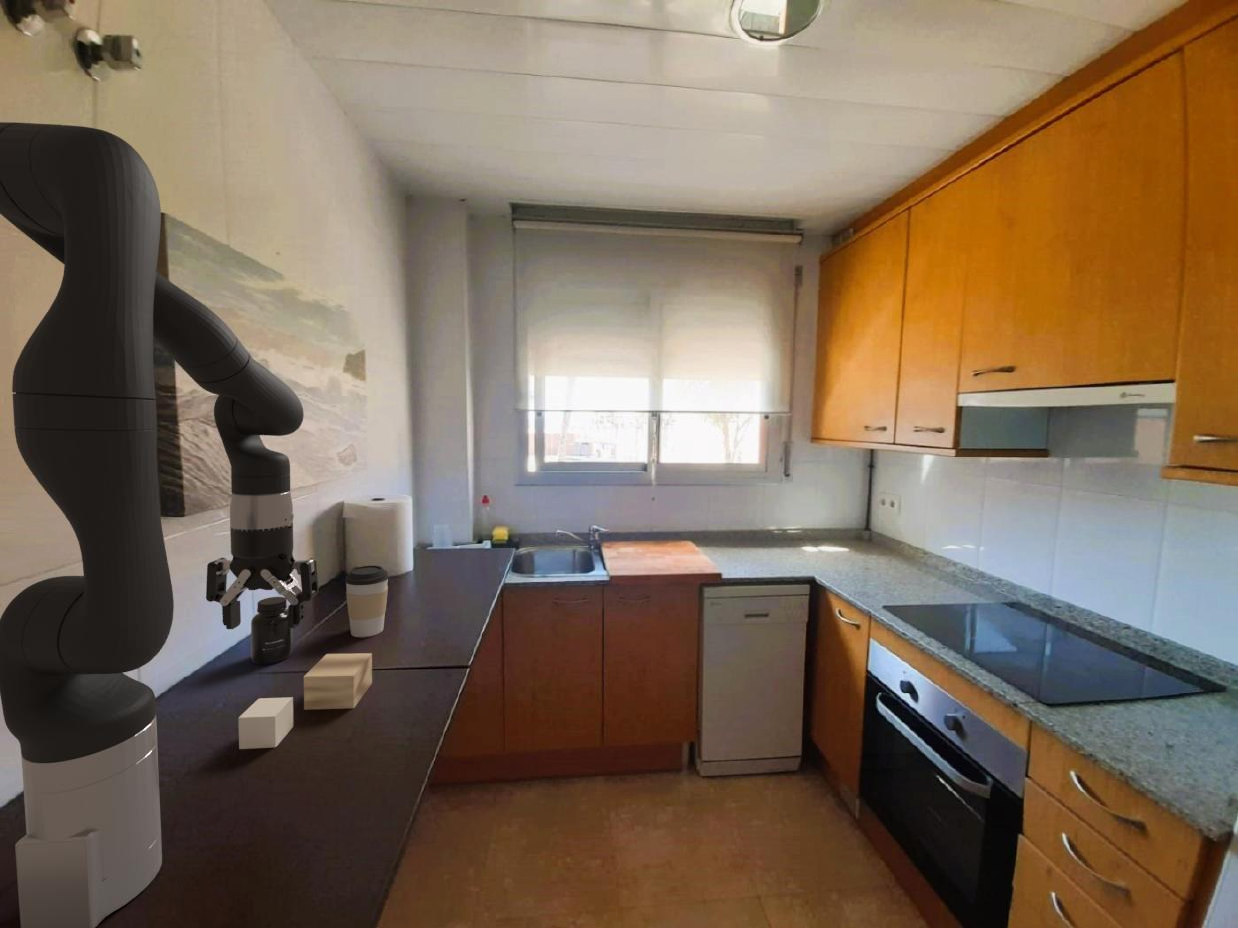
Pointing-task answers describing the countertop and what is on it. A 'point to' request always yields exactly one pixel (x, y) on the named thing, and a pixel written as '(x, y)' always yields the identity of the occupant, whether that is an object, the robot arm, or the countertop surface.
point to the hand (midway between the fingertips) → (264, 626)
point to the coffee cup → (366, 599)
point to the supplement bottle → (271, 632)
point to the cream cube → (265, 723)
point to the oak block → (338, 681)
